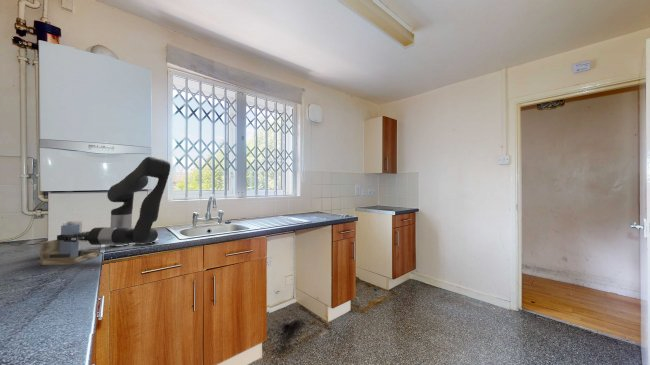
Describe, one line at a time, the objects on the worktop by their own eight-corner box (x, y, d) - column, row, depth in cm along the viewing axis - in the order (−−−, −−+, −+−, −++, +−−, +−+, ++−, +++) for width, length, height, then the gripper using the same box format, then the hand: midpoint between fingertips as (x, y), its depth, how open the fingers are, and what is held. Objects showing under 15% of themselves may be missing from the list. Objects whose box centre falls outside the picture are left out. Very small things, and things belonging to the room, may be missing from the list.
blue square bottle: (68, 256, 112) (69, 221, 112) (78, 256, 112) (79, 221, 113) (59, 258, 108) (61, 222, 108) (70, 258, 108) (71, 222, 109)
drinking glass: (66, 251, 126) (67, 221, 126) (83, 250, 128) (85, 220, 129) (57, 254, 119) (59, 222, 120) (76, 253, 122) (77, 222, 122)
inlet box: (70, 256, 116) (71, 236, 117) (98, 255, 118) (99, 236, 118) (39, 265, 103) (40, 242, 103) (72, 264, 104) (73, 242, 104)
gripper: (117, 225, 119) (77, 225, 117) (93, 229, 105) (47, 230, 103) (116, 241, 119) (76, 242, 117) (92, 248, 105) (46, 249, 103)
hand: (63, 236), depth 110 cm, fingers open, 4 cm apart
